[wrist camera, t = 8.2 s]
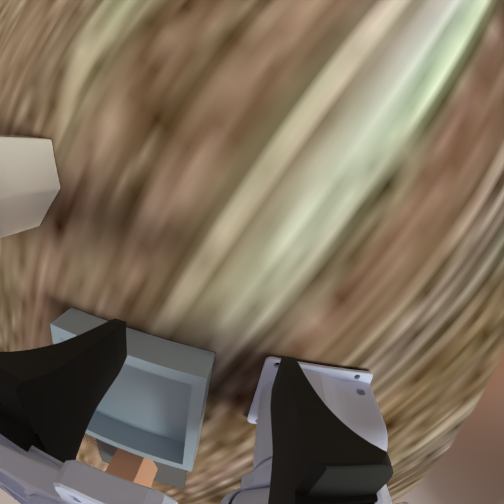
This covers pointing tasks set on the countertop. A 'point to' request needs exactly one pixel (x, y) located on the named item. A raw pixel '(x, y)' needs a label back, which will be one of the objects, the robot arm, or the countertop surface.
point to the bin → (149, 394)
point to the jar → (25, 182)
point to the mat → (164, 471)
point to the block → (132, 467)
